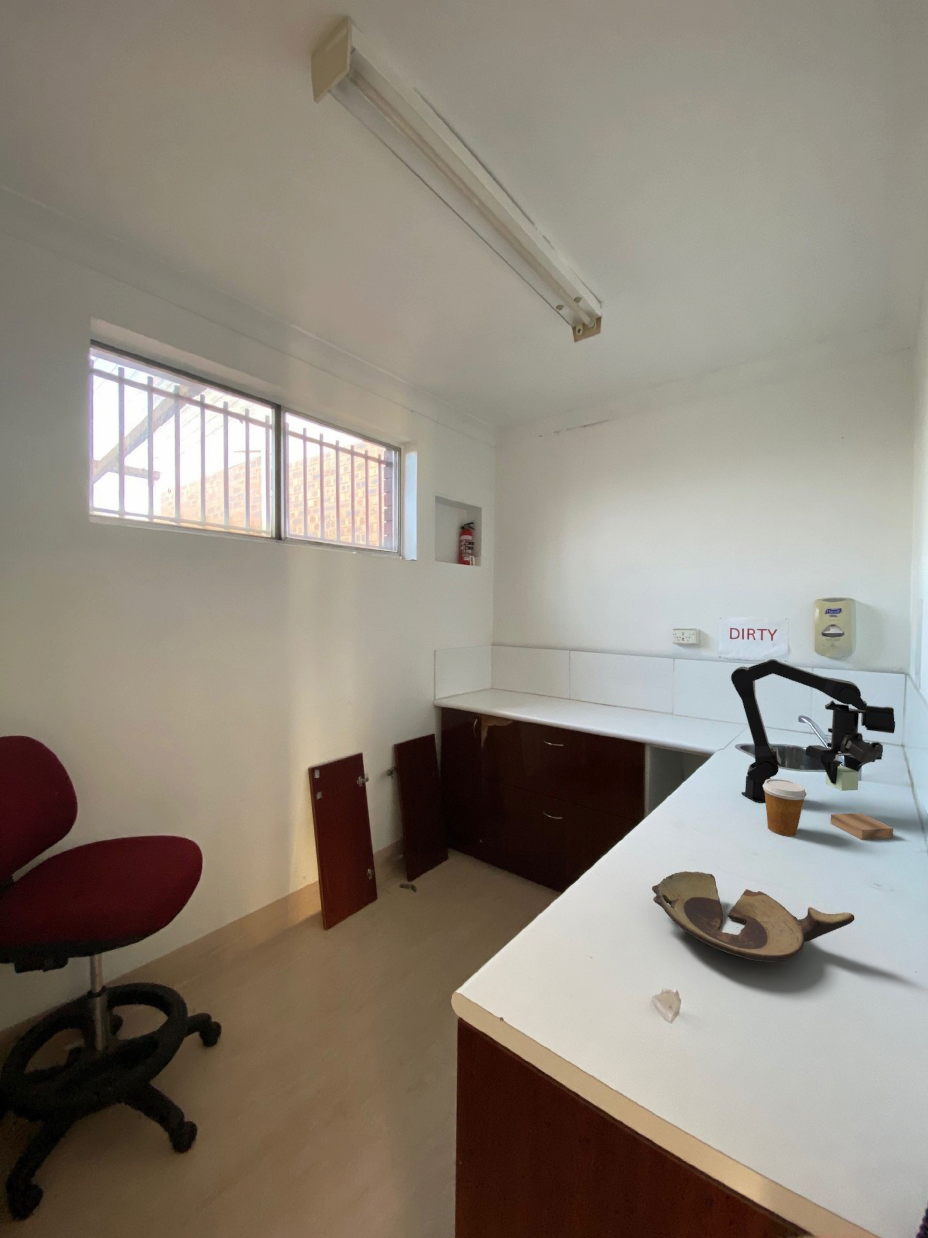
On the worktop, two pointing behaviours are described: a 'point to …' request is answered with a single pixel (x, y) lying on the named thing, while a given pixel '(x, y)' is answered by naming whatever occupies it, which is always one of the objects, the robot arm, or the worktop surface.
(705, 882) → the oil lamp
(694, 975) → the worktop surface
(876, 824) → the walnut base
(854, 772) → the sage block
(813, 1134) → the worktop surface
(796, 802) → the disposable coffee cup
